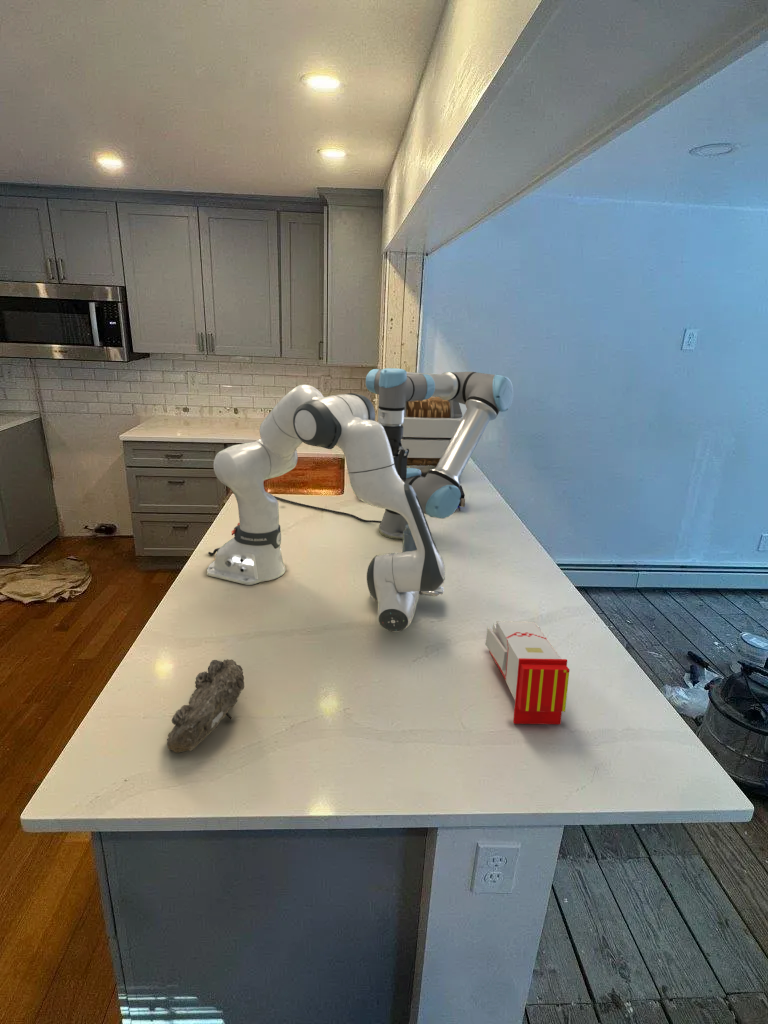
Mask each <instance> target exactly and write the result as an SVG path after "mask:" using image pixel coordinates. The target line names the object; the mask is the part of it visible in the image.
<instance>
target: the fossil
mask: <svg viewBox="0 0 768 1024" xmlns="http://www.w3.org/2000/svg"><path fill="white" fill-rule="evenodd" d="M243 670H244V669H243V667H242V665H240V664H237V662H236V661H235V660H234V659H232V658H231V659H227V658H226V659H224V660H223V661H222V660H217V659H212V660H211V661H210V663H209V665H208V666H207V671H201V672H199V673H198V674H197V675H196V676H195V680H194V684H195V685H194V687H195V689H194V690H193V693H192V694H191V697H190V698H189V700H188V704H184V705H182V706H181V707H180V709H177V710H176V711H175V713H174V715H173V716H172V718H171V723H172V724H173V727H172V730H171V731H170V732H168V734H167V738H166V741H167V742H166V745H167V749H168V750H169V751H173V752H174V753H176V754H178V753H182V752H188V751H189V752H192V751H193V750H195V748H196V747H197V746H199V744H200V743H201V742H203V741H204V740H205V739H206V738H207V737H208V736H209V735H210V734H211V733H212V732H214V730H215V729H217V727H218V726H219V724H220V722H221V721H222V720H223V719H224V718H225V716H226V717H227V719H229V720H233V717H232V715H230V714H229V710H230V709H231V708H234V706H235V704H236V703H237V702H238V699H239V697H240V695H241V693H242V691H243V690H245V689H244V688H245V675H244V671H243Z"/></svg>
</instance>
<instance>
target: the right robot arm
mask: <svg viewBox="0 0 768 1024" xmlns="http://www.w3.org/2000/svg"><path fill="white" fill-rule="evenodd" d="M365 376H366V377H365V388H366V389H367V390H368V392H370V393H371V394H372V393H373V394H375V395H378V406H377V422H379V423H380V424H381V425H382V426H383V427H384V430H385V432H386V435H387V437H388V440H389V443H390V447H391V450H392V454H393V456H395V457H393V458H394V464H395V468H396V471H397V473H398V475H399V477H400V478H401V479H402V481H403V482H404V483H406V484H409V485H411V486H412V488H413V489H414V491H415V493H416V495H417V497H418V500H419V502H420V505H421V507H422V510H423V512H424V515H427V516H428V517H432V518H436V519H446V518H449V517H450V516H452V515H453V514H454V513H455V512H456V510H457V509H458V508H457V507H458V505H459V503H460V497H461V493H460V490H459V487H460V485H461V484H460V482H459V481H458V479H459V477H460V478H461V475H462V474H463V472H464V470H465V468H466V466H467V464H468V462H469V461H470V459H471V457H472V455H473V453H474V451H475V449H476V447H477V445H478V443H479V442H480V439H481V438H482V436H483V434H484V432H485V430H486V429H487V427H488V424H489V423H490V421H494V420H496V419H497V417H498V415H499V413H504V412H506V411H508V410H509V409H510V408H511V406H512V404H513V399H514V387H513V384H512V383H513V382H512V381H511V379H510V378H509V377H508V376H505V375H500V374H491V373H485V372H479V371H478V372H477V371H452V372H451V371H445V372H441V374H440V373H428V372H427V373H426V372H414V371H407V370H406V369H403V368H397V367H394V368H393V367H386V368H373V369H371V370H370V371H368V372H367V374H366V375H365ZM430 397H440V398H441V399H443V400H450V401H454V402H458V403H459V404H461V405H465V407H466V410H465V412H464V414H463V415H462V417H461V418H462V420H461V421H460V423H459V425H458V427H457V429H456V431H455V433H454V434H453V436H452V438H451V440H450V442H449V444H448V446H447V447H446V449H445V451H444V453H443V455H442V457H441V459H440V460H439V462H438V464H437V466H435V467H434V468H430V469H429V470H428V471H427V472H426V475H425V476H422V470H421V469H420V468H416V467H408V466H407V456H408V453H409V449H405V448H403V447H402V444H401V439H402V437H403V425H402V424H403V423H404V409H405V402H408V401H418V400H420V401H422V400H425V399H429V398H430ZM273 496H274V497H275V498H276V499H277V500H279V501H281V502H285V503H288V504H293V505H297V506H301V507H305V508H310V509H315V510H320V511H324V512H329V513H334V514H338V515H344V516H349V517H351V518H354V519H357V520H358V521H361V522H364V523H376V524H379V525H378V533H379V534H380V535H381V536H382V537H385V538H387V539H389V540H395V541H403V531H404V530H405V526H406V525H407V524H408V523H407V521H406V519H405V518H404V517H403V516H402V515H400V514H399V513H397V512H394V511H392V510H388V509H384V513H383V515H382V519H381V520H371V519H365V518H364V519H363V518H361V517H359V516H356V515H354V514H353V513H347V512H344V511H338V510H334V509H329V508H323V507H319V506H314V505H310V504H305V503H301V502H297V501H292V500H289V499H285V498H282V497H278V496H276V495H273Z"/></svg>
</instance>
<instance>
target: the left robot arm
mask: <svg viewBox="0 0 768 1024" xmlns="http://www.w3.org/2000/svg"><path fill="white" fill-rule="evenodd" d="M259 437H260V438H259V439H256V440H254V441H250V442H249V441H248V442H243V443H239V444H234V445H231V446H228V447H226V448H224V449H222V450H220V451H218V452H217V453H216V454H215V456H214V459H213V464H212V465H213V472H214V475H215V477H216V478H217V480H218V481H219V482H220V483H221V484H222V485H224V486H225V487H226V488H228V489H230V491H231V492H232V493H233V495H234V497H235V500H236V503H237V508H238V510H237V511H238V519H239V521H238V523H236V524H237V525H236V526H235V527H233V529H232V530H231V536H233V537H232V538H231V539H229V540H228V541H227V542H224V543H223V545H222V546H220V547H217V548H214V550H213V551H212V552H211V551H208V552H207V554H208V555H210V556H215V557H214V560H213V561H212V562H210V564H209V565H208V566H207V569H206V575H207V576H209V577H212V578H216V579H221V580H225V581H229V582H234V583H237V584H238V583H239V584H243V585H247V586H252V585H253V586H254V585H256V584H258V583H262V582H268V581H269V582H270V581H273V580H275V579H278V578H280V577H282V576H283V575H284V574H285V573H286V570H287V569H286V566H285V562H284V560H283V555H282V548H281V545H282V530H281V529H282V528H281V525H280V514H279V513H280V512H279V511H280V510H279V501H278V499H276V498H275V497H274V496H275V495H273V494H272V493H270V492H268V491H266V490H265V489H266V488H265V485H264V483H265V481H267V480H270V479H274V478H277V477H282V476H283V475H285V474H287V473H289V472H291V471H292V470H294V469H295V468H296V466H297V463H298V459H299V455H298V451H297V449H298V448H299V447H300V445H302V443H304V444H305V445H308V446H311V447H318V448H324V449H327V450H333V449H334V447H338V448H339V449H340V450H341V451H342V452H343V455H344V457H345V462H346V468H347V475H348V479H349V483H350V487H351V489H352V492H353V494H354V495H355V496H356V497H357V498H358V500H359V499H360V500H359V501H361V500H362V502H363V503H365V504H367V505H369V506H372V507H376V508H380V509H384V510H385V509H388V510H392V511H394V512H397V513H399V514H400V515H402V516H403V517H404V518H405V519H406V521H407V523H408V525H409V528H410V531H411V533H412V536H413V539H414V542H415V544H416V547H417V550H415V551H409V552H402V551H400V552H391V553H390V552H389V553H384V554H376V555H375V556H374V557H373V558H372V559H371V561H370V563H369V564H368V567H367V571H366V584H367V587H368V591H369V595H370V598H372V599H374V601H375V602H376V603H377V622H378V623H379V625H380V626H381V628H383V629H384V630H386V631H388V632H393V633H395V632H402V631H405V630H406V629H407V628H408V627H409V626H410V625H411V623H412V622H413V619H414V616H415V613H416V611H417V605H418V601H419V598H420V596H426V597H439V596H440V595H443V594H444V592H445V589H444V584H445V580H446V568H445V563H444V561H443V558H442V556H441V554H440V552H439V550H438V547H437V545H436V542H435V540H434V538H433V534H432V532H431V529H430V527H429V524H428V521H427V518H426V514H424V512H423V510H422V507H421V505H420V502H419V500H418V497H417V495H416V493H415V491H414V489H413V488H412V486H411V485H409V484H406V483H404V482H403V481H402V479H401V478H400V477H399V475H398V473H397V471H396V468H395V464H394V458H393V454H392V450H391V447H390V443H389V440H388V437H387V435H386V432H385V430H384V427H383V426H382V425H381V424H380V423H379V422H378V421H376V410H375V407H374V405H373V403H372V401H371V400H370V399H369V398H368V397H366V395H363V394H359V393H354V392H353V393H352V392H348V393H343V394H342V393H341V394H340V393H339V394H332V395H328V396H324V395H323V394H322V392H321V391H320V390H318V389H317V388H316V387H315V386H312V385H310V384H299V385H297V386H295V387H294V388H293V389H291V390H290V391H288V392H287V393H286V394H285V395H284V396H282V398H281V399H280V400H279V401H278V402H277V403H276V404H275V406H274V407H273V408H272V409H271V411H269V413H268V414H267V415H266V417H265V418H264V419H263V420H262V421H261V422H260V425H259Z"/></svg>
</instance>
